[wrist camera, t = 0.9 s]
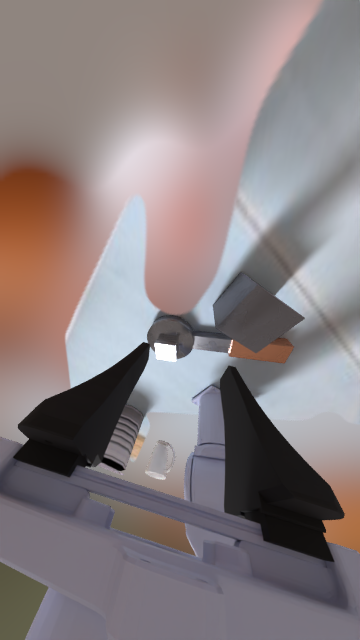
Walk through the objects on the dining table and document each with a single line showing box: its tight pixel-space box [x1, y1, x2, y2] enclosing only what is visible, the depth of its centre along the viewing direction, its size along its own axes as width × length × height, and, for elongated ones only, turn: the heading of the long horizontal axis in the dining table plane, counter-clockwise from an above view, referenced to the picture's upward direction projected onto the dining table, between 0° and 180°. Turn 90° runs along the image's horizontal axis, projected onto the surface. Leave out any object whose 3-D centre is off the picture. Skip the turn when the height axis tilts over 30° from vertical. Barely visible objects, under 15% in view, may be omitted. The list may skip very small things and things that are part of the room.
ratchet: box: [147, 315, 294, 363], centre depth 20 cm, size 21×8×4 cm, turn 89°
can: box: [99, 405, 143, 475], centre depth 36 cm, size 11×11×12 cm
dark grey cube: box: [213, 272, 305, 353], centre depth 15 cm, size 6×6×6 cm
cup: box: [145, 441, 175, 479], centre depth 45 cm, size 7×10×8 cm
